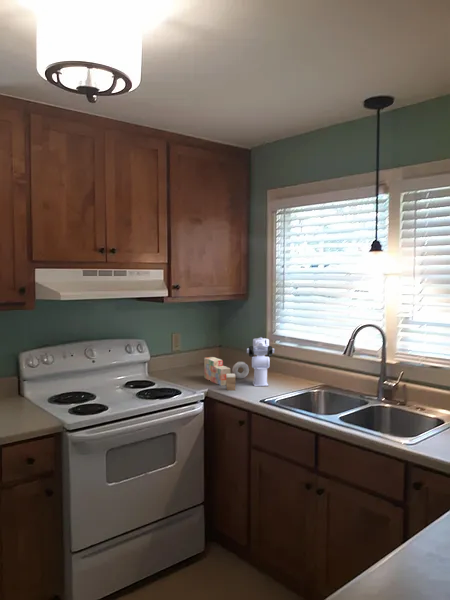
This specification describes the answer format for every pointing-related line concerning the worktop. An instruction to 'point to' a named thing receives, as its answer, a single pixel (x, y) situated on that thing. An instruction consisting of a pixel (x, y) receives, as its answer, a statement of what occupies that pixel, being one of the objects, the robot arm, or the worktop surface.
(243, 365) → the donut
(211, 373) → the stack of blocks
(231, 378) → the walnut block
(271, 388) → the worktop surface
